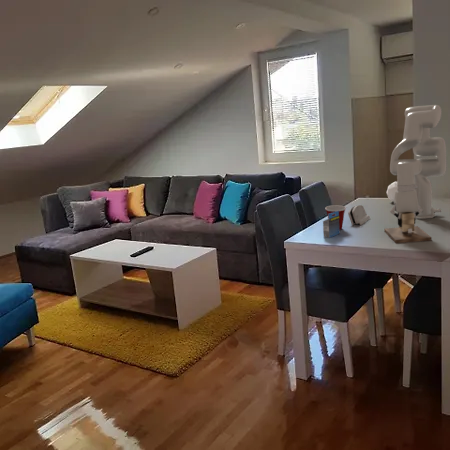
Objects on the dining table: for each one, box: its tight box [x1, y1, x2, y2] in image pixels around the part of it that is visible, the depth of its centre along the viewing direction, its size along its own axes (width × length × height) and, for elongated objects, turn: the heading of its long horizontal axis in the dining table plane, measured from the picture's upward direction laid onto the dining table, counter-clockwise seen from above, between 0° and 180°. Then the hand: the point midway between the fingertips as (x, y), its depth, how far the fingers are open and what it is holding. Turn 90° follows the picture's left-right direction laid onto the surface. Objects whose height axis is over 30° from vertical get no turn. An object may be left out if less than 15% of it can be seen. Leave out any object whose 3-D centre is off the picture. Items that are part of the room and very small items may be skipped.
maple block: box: [398, 212, 415, 232], centre depth 234 cm, size 5×8×8 cm, turn 175°
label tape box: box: [322, 211, 340, 239], centre depth 248 cm, size 9×4×12 cm, turn 133°
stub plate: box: [384, 225, 432, 244], centre depth 235 cm, size 16×22×5 cm
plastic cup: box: [324, 204, 347, 231], centre depth 260 cm, size 11×11×12 cm
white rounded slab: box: [348, 204, 371, 226], centre depth 272 cm, size 17×5×10 cm, turn 146°
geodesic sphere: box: [386, 180, 397, 203], centre depth 311 cm, size 14×14×14 cm
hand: (406, 225), depth 234 cm, fingers closed on maple block, 5 cm apart
